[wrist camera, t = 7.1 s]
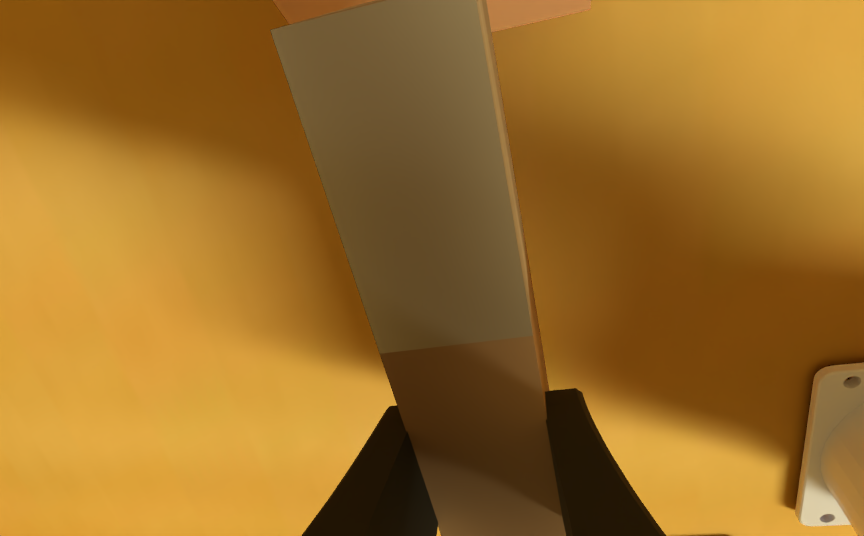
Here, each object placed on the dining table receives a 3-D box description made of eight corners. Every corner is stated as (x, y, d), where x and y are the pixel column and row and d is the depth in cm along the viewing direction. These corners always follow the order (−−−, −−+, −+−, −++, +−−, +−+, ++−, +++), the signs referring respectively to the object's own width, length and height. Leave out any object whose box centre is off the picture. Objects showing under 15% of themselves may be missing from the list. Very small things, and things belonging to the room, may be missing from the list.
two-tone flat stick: (481, -27, 10) (473, -22, 6) (573, 540, 17) (593, 690, 13) (349, 7, 10) (270, 29, 7) (494, 544, 17) (493, 689, 14)
